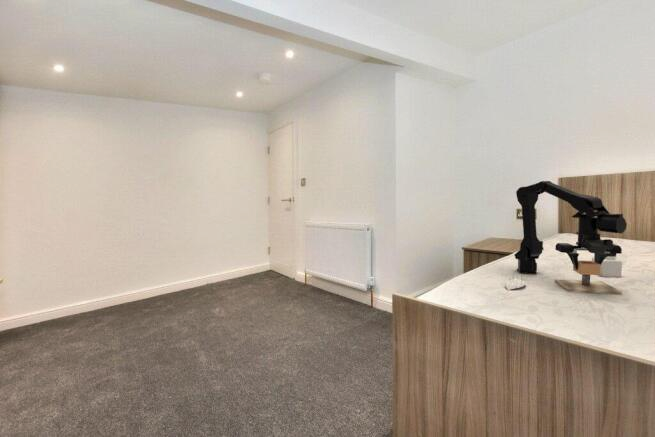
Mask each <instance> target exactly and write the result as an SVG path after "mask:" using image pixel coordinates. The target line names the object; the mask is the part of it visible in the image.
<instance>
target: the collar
mask: <svg viewBox="0 0 655 437" xmlns="http://www.w3.org/2000/svg"><path fill="white" fill-rule="evenodd" d="M600 267H601V265H600V264H598V263H596V262H593V261H592V260H579V259H578V270H575V268H574V266H573V267H572V271H573V272H576V273H577V274H579V275H581V276H582V275H590V276H591V275H592V276H599V275H600Z"/></svg>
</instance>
